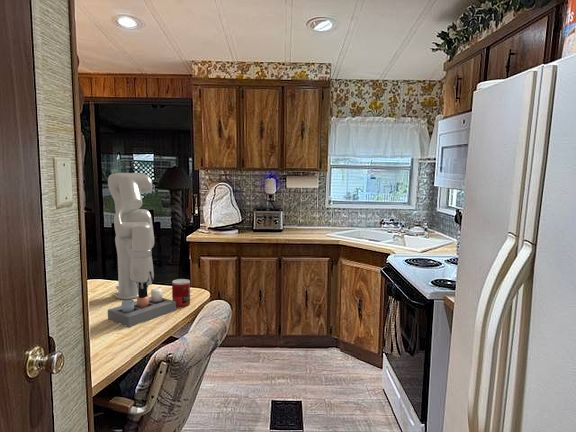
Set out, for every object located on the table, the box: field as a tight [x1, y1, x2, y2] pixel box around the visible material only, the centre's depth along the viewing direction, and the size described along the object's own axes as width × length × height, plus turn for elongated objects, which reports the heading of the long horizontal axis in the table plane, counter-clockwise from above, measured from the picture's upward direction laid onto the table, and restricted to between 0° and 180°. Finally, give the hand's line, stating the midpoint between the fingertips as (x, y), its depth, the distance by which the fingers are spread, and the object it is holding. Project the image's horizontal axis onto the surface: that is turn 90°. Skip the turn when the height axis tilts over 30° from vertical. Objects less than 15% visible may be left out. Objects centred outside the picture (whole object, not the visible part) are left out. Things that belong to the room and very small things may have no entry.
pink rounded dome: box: [136, 295, 150, 309], centre depth 160 cm, size 5×5×4 cm
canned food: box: [171, 278, 191, 308], centre depth 174 cm, size 8×8×11 cm
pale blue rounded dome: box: [121, 299, 135, 314], centre depth 155 cm, size 5×5×4 cm
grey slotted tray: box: [107, 296, 177, 328], centre depth 161 cm, size 14×23×4 cm, turn 147°
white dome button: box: [150, 287, 163, 302], centre depth 166 cm, size 5×5×4 cm
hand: (142, 297), depth 160 cm, fingers closed
